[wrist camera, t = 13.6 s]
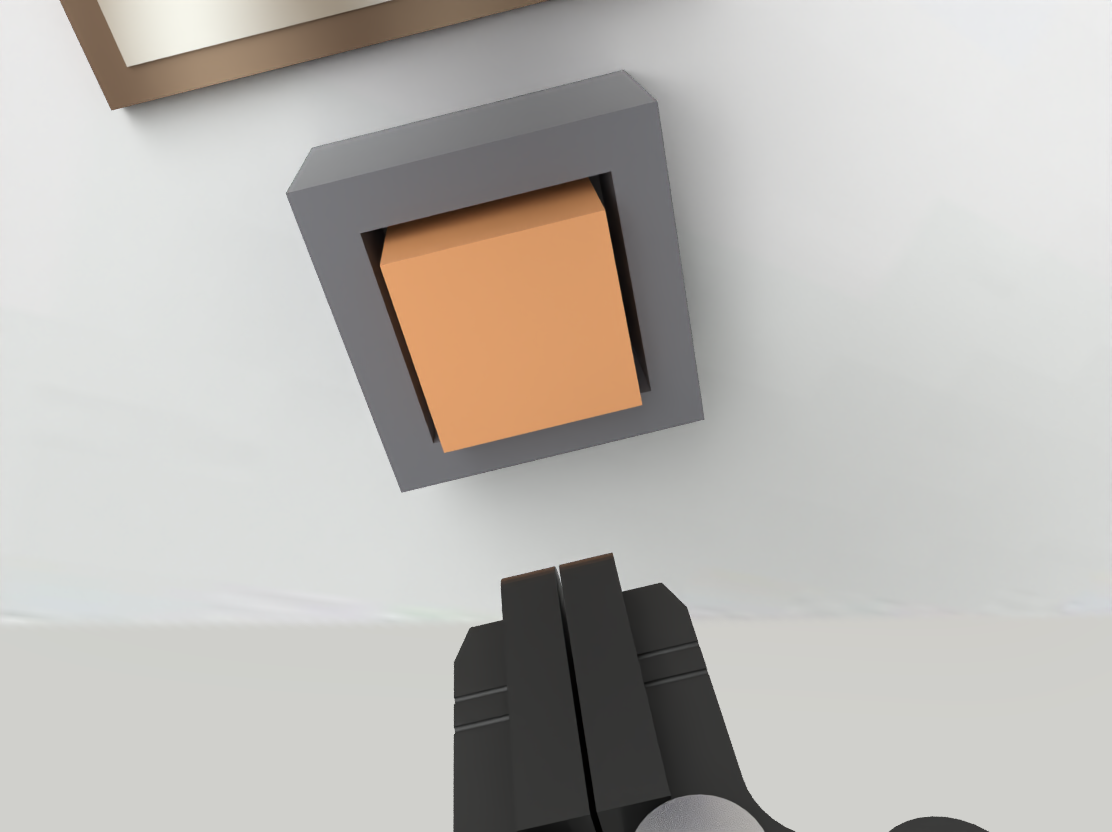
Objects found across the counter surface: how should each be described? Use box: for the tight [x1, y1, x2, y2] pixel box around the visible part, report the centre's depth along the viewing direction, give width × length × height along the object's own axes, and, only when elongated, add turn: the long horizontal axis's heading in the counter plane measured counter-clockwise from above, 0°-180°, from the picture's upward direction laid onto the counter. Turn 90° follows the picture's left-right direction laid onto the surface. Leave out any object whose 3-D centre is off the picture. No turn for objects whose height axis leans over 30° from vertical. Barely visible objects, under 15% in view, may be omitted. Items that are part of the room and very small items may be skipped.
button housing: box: [286, 70, 704, 492], centre depth 22 cm, size 8×8×4 cm
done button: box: [380, 177, 642, 453], centre depth 20 cm, size 5×5×3 cm
